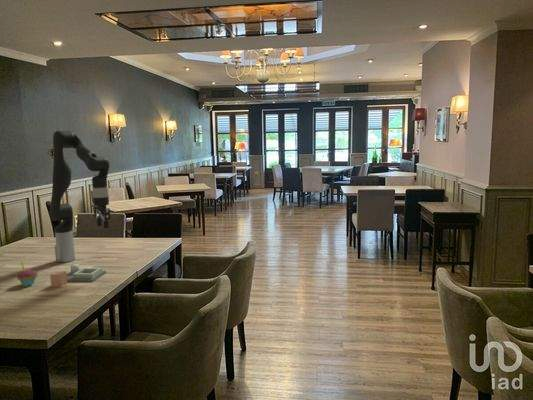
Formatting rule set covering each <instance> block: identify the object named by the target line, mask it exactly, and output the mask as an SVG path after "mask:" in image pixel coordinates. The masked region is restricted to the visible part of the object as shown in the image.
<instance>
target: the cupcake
mask: <svg viewBox="0 0 533 400" xmlns="http://www.w3.org/2000/svg"><path fill="white" fill-rule="evenodd" d="M20 263H21V264H20V265H21V267H22V271H19V273H17V275H16V278H17V279H16V280H19V282H20V283H21V285H22V287H30V286H33V285H35V280H36V278H37V277H38V276H39V275H38V272H37V271H36V270H34V269H25V266H24V262H22V261H20ZM32 284H33V285H32ZM29 285H30V286H29Z"/></svg>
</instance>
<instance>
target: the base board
mask: <svg viewBox="0 0 533 400" xmlns="http://www.w3.org/2000/svg"><path fill="white" fill-rule="evenodd" d="M69 268H70V271H68V272H67V283H75V282H76V283H93V282H95V281H96V280H98V279H99V278H101V277H102V276H104V275H106V274H107V270H103V267H82V268H81V269H80V263H73V264H71V265H70V267H69Z"/></svg>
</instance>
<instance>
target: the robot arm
mask: <svg viewBox="0 0 533 400" xmlns="http://www.w3.org/2000/svg"><path fill="white" fill-rule="evenodd" d="M52 146H53V147H52V148H53V150H52V151H53V168H52V188H51V189H52V192H51V199H50V206H49V217H50V219H51V220H52V221H54V222H59V221H61V223H60V224H58V225H57V226H55V227H54V235H55V245H54V254H55V262H57V263H68V262H73V261H75V260H76V254H75V240H74V212H73V207H72V205H71V204H70V203H67V202H66V203H62V200H63V196H64V195H65V193H66V191H68V189H69V188H70V185H71V184H72V170H71V168H70V166H69V164H68V163H67V161H66V160H65V157H64V149H74V150H75V153H76V156H77V157H78V159H80V160H81V161H82V162H84V164H85V166H86V168H87V169H88V170H89V171H91V172H98V174H97V175H94V176H93V177H92V178H91V186H92V204H93V214H94V218H95V220H96V226H97V227H102V226H103V228H104V229H109V227H110V226H109V225H110V223H109V221H110V220H111V212H110V208H109V207H107V206H108V205H110V199H109V198H110V197H109V196H110V195H109V189H108V175H109V169H110V161H109V159H108V158H106V157H105V156H97V154H96V152H94V151H93V150H92V149H90V148H89V147H88V146H86V144H85V143H84V142H83V141H82V139H80V137H79V136H78V135H77V134H76V133H75V132H74V131H70V130H56V131H54V133H53V137H52ZM102 220H103V224H102Z"/></svg>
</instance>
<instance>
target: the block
mask: <svg viewBox="0 0 533 400" xmlns="http://www.w3.org/2000/svg"><path fill="white" fill-rule="evenodd" d="M67 273H68V272H67V271H66V270H65V271H64V270H60V271H58V270H57V271H54V272H53V273H50V274H49V277H50V285H51V286H52V288H53V287H54V288H59V287H60V288H62V287H64V286H66V285H67V284H68V282H67ZM63 285H64V286H63ZM56 286H57V287H56Z"/></svg>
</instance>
